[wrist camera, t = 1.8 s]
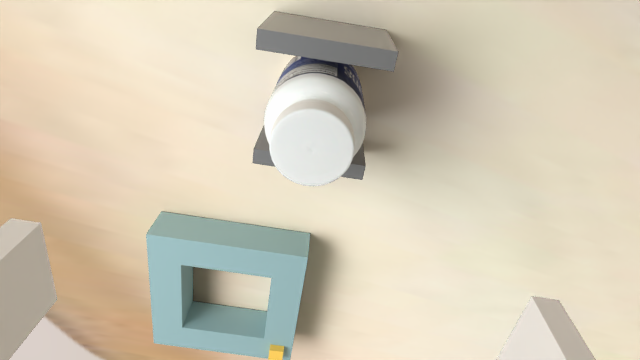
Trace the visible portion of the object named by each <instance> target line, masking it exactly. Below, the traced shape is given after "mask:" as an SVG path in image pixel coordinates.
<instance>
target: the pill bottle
mask: <svg viewBox="0 0 640 360" xmlns="http://www.w3.org/2000/svg"><path fill="white" fill-rule="evenodd" d="M264 128H265V134H266V138H267V140H268V143H269V150H270V155H271V158H272V161H273V163H274V165H275V167H276V168H277V169H278V171H279V172H280V173H281V174H282V175H283V176H285V177H286V178H287V179H289V180H291V181H293V182H295V183H297V184H301V185H306V186H321V185H325V184H328V183H331V182H333V181H335V180H336V179H338V178H340V177H341V176H342V175H343V174H344V173H345V172H346V171H347V169H348V168H349V166H350V164H351V162H352V160H353V157H354V156H355V154H356V153H357V152H358V150H359V149H360V147H361V145H362V143H363V140H364V137H365V132H366V113H365V107H364V101H363V95H362V89H361V84H360V80H359V76H358V74H357V71H356V69H355V68H354V66H353V65H350V64H344V63H338V62H331V61H325V60H319V59H313V58H307V57H301V56H295V57H293V58H292V59H291V60H290V62H289V63H288V64H287V65H286V67H285V68H284V70H283V72H282V74H281V76H280V78H279V80H278V82H277V84H276V87H275V89H274V91H273V93H272V95H271V98H270V99H269V101H268V104H267V107H266V110H265V116H264Z"/></svg>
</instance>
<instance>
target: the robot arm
mask: <svg viewBox="0 0 640 360" xmlns="http://www.w3.org/2000/svg"><path fill="white" fill-rule="evenodd" d="M56 300H57V295H56V290H55V286H54V281H53V276H52V272H51V267H50V262H49V258H48V253H47V249H46V244H45V239H44V235H43V230H42V225H41V223H39V222H32V221H26V220H19V219H12V218H11V219H9V220H8V221H7V222H6V223H5V224H3V225H2V226H1V227H0V360H9V359H10V358H11V357H12V355H13V354H14V353H15V351H16V350H17V349H18V348H19V346H20V345H21V344H22V343H23V341H24V340H25V339H26V338H27V336H28V335H29V334H30V333H31V332H32V330H33V329H34V328H35V327H36V325H37V324H38V323H39V322H40V320H41V319H42V318H43V317H44V315H45V314H46V313H47V312H48V310H49V309H50V308H51V307H52V305H53V304H54V303H55V302H56ZM496 360H596V359H595V358H594V356H593V355H592V353H591V351H590V350H589V348H588V346H587V345H586V343H585V342H584V340H583V338H582V337H581V335H580V333H579V332H578V330H577V329H576V327H575V325H574V324H573V322H572V321H571V319H570V317H569V316H568V314H567V312H566V311H565V309H564V308H563V306H562V304H561V303H560V301H559V300H554V299H547V298H541V297H534V296H531V298H530V300H529V302H528V304H527V305H526V307H525V309H524V311H523V313H522V314H521V316H520V318H519V320H518V322H517V323H516V325H515V327H514V329H513V331H512V332H511V334H510V336H509V338H508V340H507V341H506V343H505V345H504V347H503V348H502V350H501V352H500V354H499V356H498V357H497V359H496Z"/></svg>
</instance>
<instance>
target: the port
mask: <svg viewBox="0 0 640 360" xmlns="http://www.w3.org/2000/svg"><path fill="white" fill-rule="evenodd" d="M146 238H147V252H148V266H149V280H150V294H151V309H152V323H153V337H154V343H157V344H164V345H172V346H179V347H186V348H194V349H201V350H209V351H216V352H223V353H231V354H238V355H246V356H253V357H260V358H268V359H269V360H290V357H291V352H292V346H293V340H294V335H295V329H296V323H297V317H298V312H299V306H300V300H301V295H302V289H303V283H304V277H305V272H306V266H307V260H308V253H309V243H310V233H305V232H298V231H291V230H284V229H278V228H271V227H264V226H257V225H250V224H244V223H237V222H230V221H223V220H216V219H209V218H203V217H196V216H189V215H182V214H175V213H169V212H162V211H161V213H160V214H159V216H158V217H157V219H156V220H155V222H154V223H153V225H152V226H151V228H150V229H149V231H148V232H147V234H146ZM193 267H199V268H206V269H213V270H220V271H227V272H234V273H241V274H248V275H255V276H262V277H269V278H272V279H271V287H270V295H269V303H268V311H260V310H253V309H246V308H239V307H231V306H224V305H217V304H210V303H203V302H195V301H193Z"/></svg>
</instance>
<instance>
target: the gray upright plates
mask: <svg viewBox="0 0 640 360" xmlns="http://www.w3.org/2000/svg"><path fill="white" fill-rule="evenodd" d="M256 49H258V50H264V51H270V52H276V53H282V54H288V55H294V56H301V57H307V58H313V59H319V60H325V61H331V62H338V63H344V64H350V65H356V66H362V67H368V68H374V69H381V70H387V71H393V72H394V68H395V64H396V60H397V56H398V50H397V48H396V46H395V44H394V43H393V41H392V39H391V37H390V35H389V33H388V32H387V30H384V29H378V28H372V27H366V26H360V25H354V24H348V23H342V22H336V21H330V20H324V19H318V18H312V17H306V16H300V15H294V14H288V13H281V12H275V11H274V12H273V13H272V14H271V15H270V16H269V17H268V18H267V19H266V20H265V21H264V22H263V23H262V24H261V25H260V26H259V27H258V28H257V39H256ZM253 163H255V164H262V165H268V166H275V165H274V163H273V161H272V158H271V155H270V150H269V143H268V140H267V138H266V134H265V128H264V126H263V128H262V131H261V133H260V135H259V138H258V140H257V142H256V145H255V147H254V152H253ZM364 170H365V157H364V149H363V143H362V145H361V147H360V149H359V150H358V152H357V153H356V154H355V156H354V157H353V160H352V162H351V164H350V166H349V168H348V169H347V171H346V172H345V173H344V174H343V175H342V176H341V177H347V178H353V179H360V180H362V179H363V175H364Z"/></svg>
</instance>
